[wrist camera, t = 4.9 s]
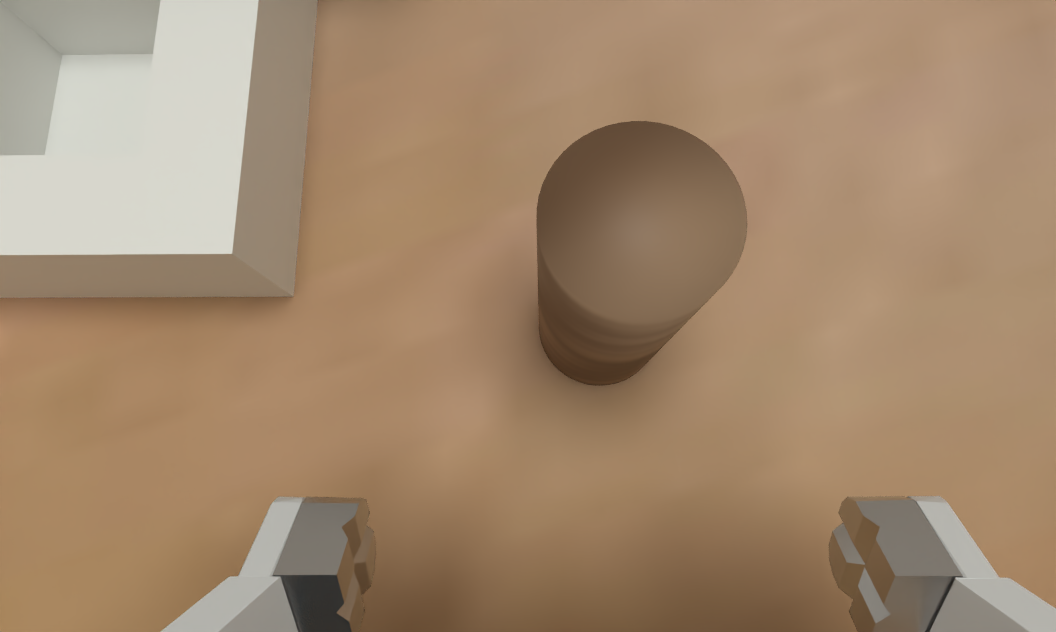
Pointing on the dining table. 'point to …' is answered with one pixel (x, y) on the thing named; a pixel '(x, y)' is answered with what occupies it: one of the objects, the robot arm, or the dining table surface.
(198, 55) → the white socket block
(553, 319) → the walnut dowel
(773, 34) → the dining table surface
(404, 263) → the dining table surface
